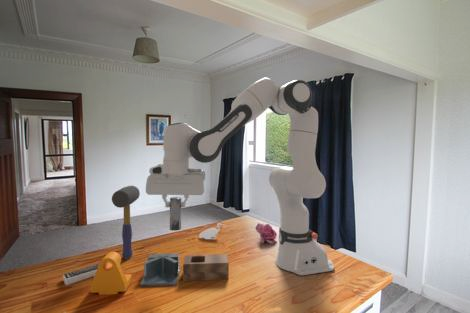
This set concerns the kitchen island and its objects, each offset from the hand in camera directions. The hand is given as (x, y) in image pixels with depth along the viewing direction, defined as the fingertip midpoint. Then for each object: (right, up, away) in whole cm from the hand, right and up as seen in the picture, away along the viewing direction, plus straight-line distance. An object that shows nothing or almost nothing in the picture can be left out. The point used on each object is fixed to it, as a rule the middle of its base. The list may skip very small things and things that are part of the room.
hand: (175, 207), depth 92 cm
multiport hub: (-33, -26, +2) cm, 42 cm away
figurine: (+10, -24, +37) cm, 45 cm away
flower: (+37, -24, +38) cm, 58 cm away
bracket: (-20, -26, -6) cm, 33 cm away
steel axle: (0, -8, 0) cm, 8 cm away
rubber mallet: (-24, -25, +16) cm, 38 cm away
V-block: (-5, -26, +1) cm, 26 cm away
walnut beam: (+11, -26, +3) cm, 28 cm away
